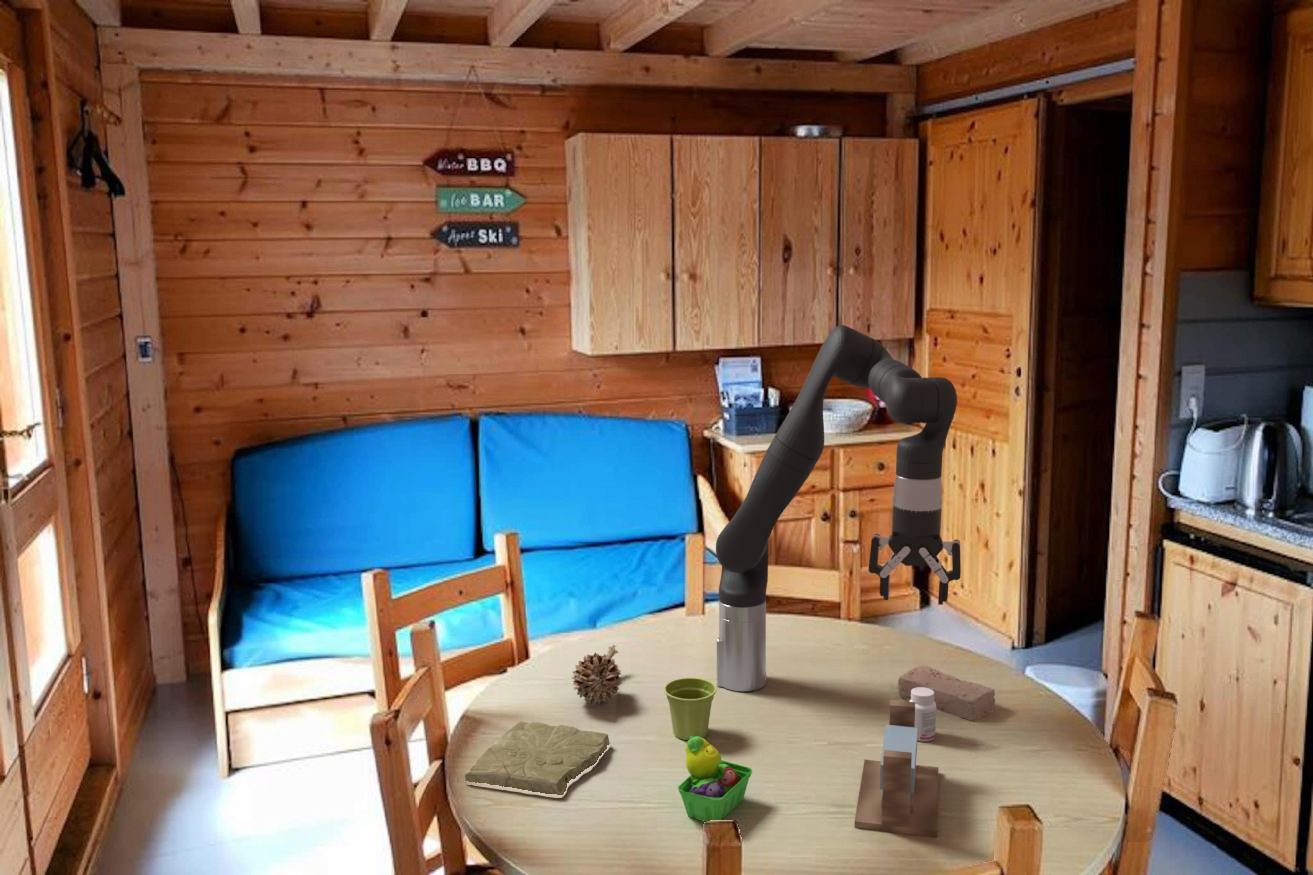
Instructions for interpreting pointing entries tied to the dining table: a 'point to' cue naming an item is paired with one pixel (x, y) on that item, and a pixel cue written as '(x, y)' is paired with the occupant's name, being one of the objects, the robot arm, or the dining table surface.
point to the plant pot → (690, 706)
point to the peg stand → (898, 788)
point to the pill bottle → (924, 713)
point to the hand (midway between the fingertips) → (913, 600)
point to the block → (900, 746)
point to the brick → (949, 692)
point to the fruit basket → (711, 782)
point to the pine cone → (597, 677)
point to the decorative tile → (538, 757)
